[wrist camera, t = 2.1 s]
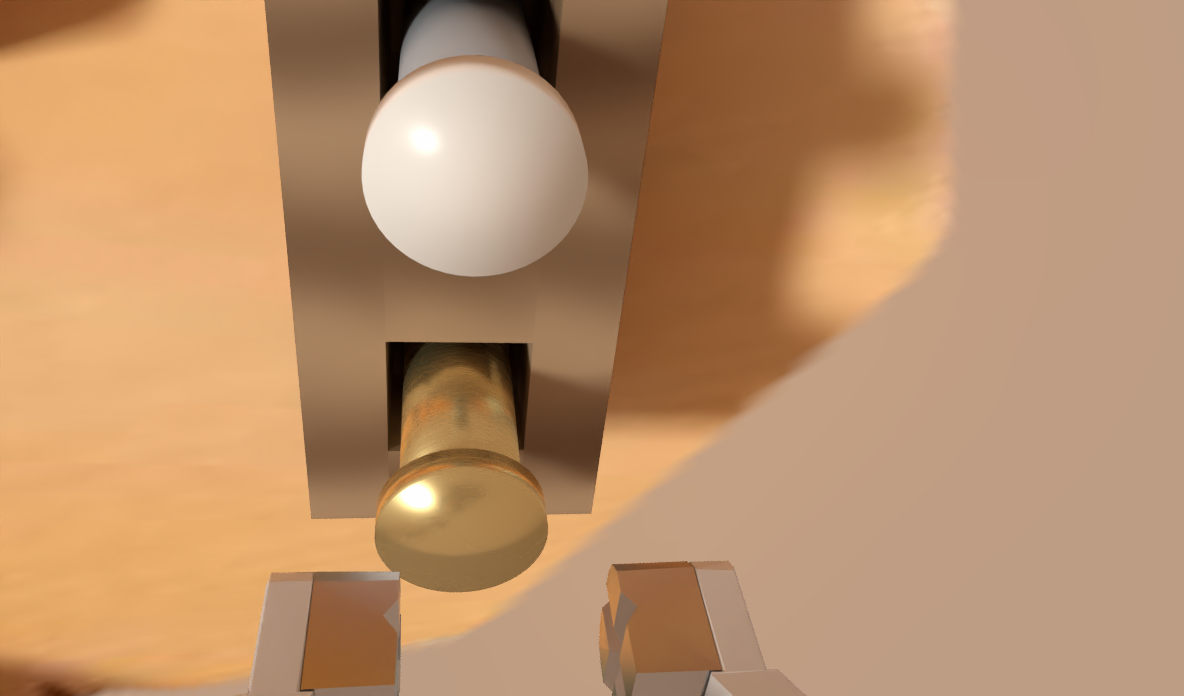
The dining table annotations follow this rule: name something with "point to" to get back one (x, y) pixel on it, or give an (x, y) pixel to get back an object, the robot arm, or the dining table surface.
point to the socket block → (440, 300)
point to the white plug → (472, 144)
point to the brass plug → (459, 474)
